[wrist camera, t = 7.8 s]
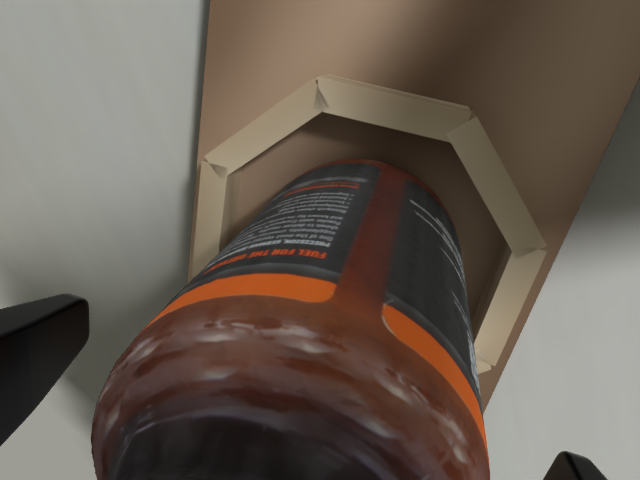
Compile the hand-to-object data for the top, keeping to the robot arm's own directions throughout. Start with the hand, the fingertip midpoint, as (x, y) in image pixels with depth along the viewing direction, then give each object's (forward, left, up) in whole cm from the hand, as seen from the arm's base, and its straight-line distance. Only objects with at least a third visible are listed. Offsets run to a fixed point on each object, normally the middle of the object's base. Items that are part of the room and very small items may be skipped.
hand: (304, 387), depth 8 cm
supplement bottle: (0, 0, -7) cm, 7 cm away
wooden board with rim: (0, 0, -8) cm, 8 cm away
